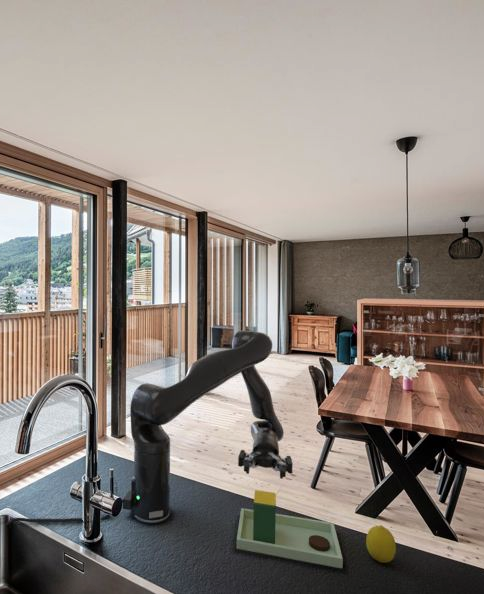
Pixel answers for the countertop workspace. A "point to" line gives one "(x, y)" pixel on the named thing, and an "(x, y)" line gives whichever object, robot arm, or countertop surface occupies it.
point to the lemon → (381, 544)
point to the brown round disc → (319, 543)
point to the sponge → (264, 516)
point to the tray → (292, 539)
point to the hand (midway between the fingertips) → (264, 472)
